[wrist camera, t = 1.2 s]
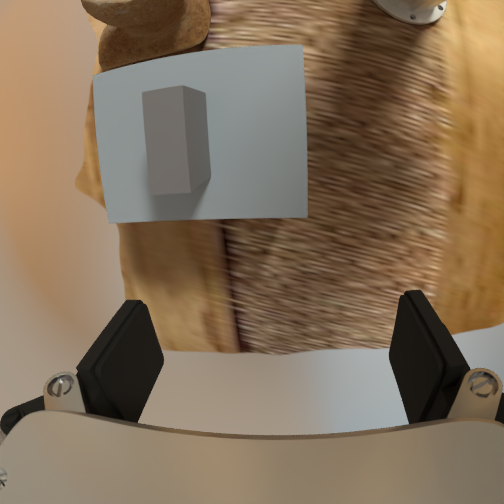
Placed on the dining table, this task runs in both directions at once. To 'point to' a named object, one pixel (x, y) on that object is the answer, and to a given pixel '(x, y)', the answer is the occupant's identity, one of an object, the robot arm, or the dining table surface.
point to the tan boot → (147, 28)
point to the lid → (204, 136)
